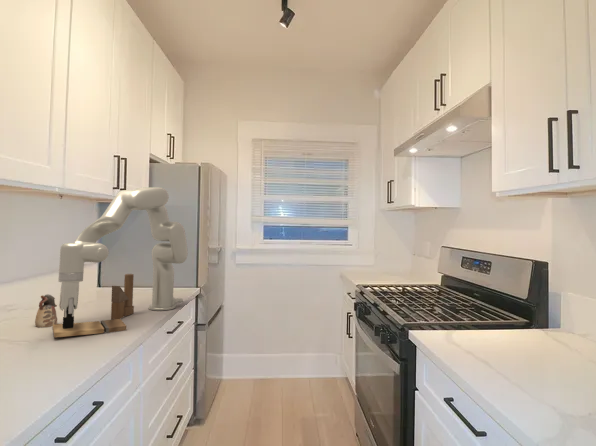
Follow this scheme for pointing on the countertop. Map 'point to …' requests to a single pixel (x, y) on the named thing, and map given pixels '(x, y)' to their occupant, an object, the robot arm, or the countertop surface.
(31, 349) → the countertop surface
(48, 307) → the figurine
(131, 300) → the wooden block stack
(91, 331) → the oak plank
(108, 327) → the brown flat block
